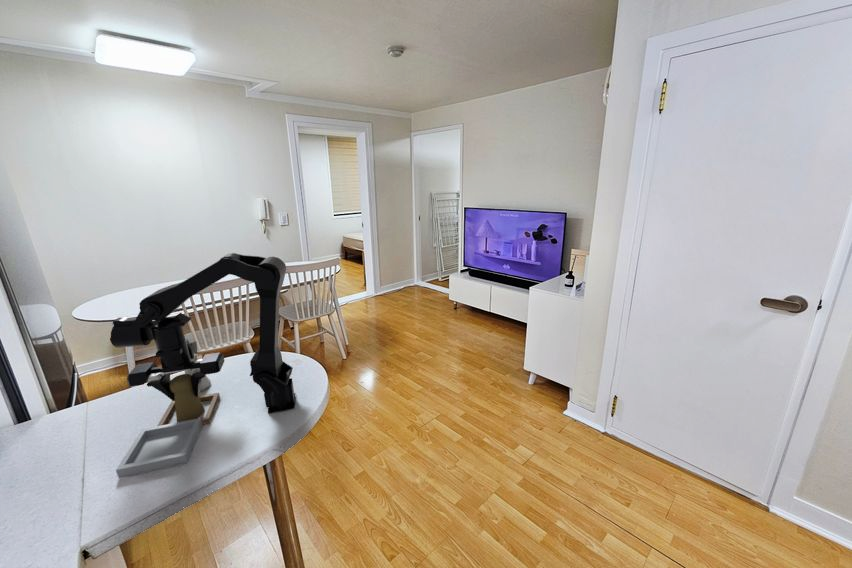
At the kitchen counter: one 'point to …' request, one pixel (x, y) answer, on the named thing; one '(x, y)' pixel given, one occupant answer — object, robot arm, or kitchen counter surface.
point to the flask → (205, 381)
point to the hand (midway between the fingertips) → (186, 397)
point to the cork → (185, 398)
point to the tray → (160, 448)
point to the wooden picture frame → (204, 398)
